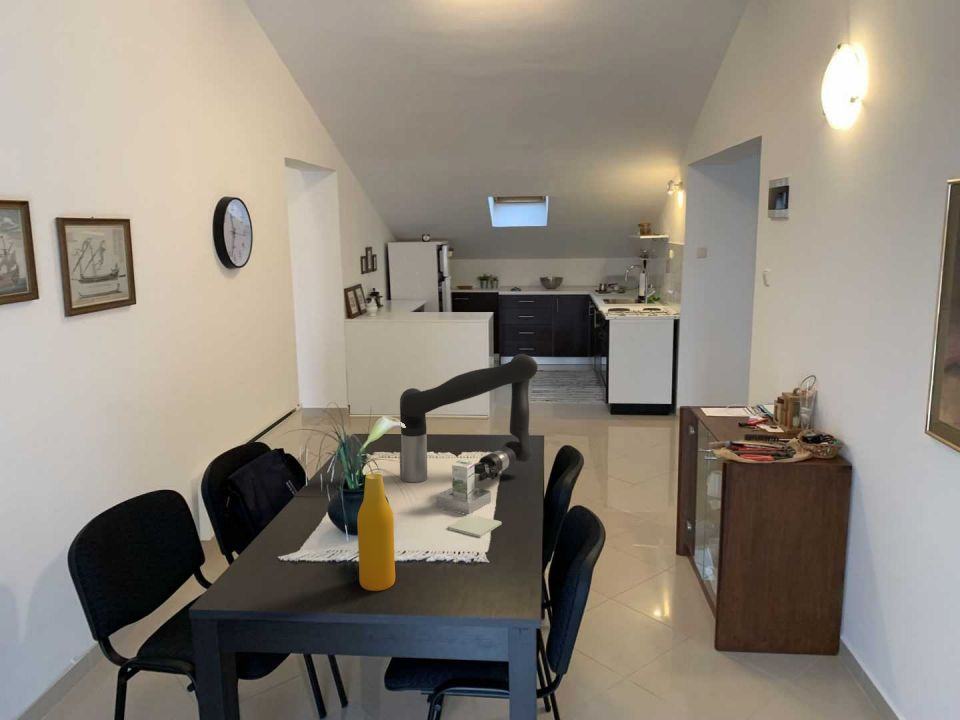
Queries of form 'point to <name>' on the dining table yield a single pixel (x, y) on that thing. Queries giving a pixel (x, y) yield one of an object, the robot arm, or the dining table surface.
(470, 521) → the pad
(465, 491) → the syrup box
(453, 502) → the housing
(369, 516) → the beer bottle
